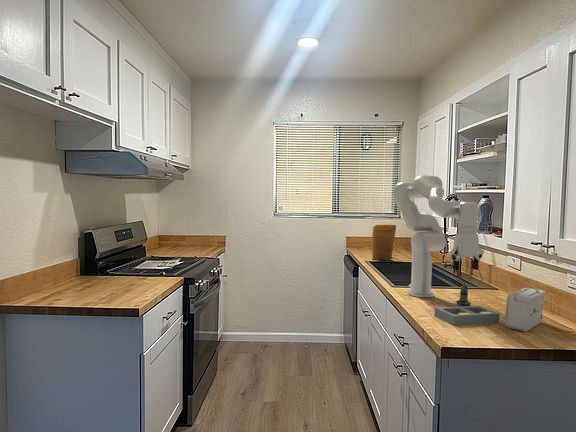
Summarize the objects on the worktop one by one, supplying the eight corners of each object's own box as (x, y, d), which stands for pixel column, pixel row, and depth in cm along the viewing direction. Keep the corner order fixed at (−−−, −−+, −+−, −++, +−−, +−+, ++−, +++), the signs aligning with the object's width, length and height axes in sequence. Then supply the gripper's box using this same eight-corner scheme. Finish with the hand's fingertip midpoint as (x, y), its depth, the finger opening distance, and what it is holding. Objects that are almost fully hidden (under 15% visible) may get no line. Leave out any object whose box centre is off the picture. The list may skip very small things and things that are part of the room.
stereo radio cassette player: (522, 318, 168) (524, 270, 167) (544, 323, 162) (547, 273, 161) (503, 328, 154) (506, 276, 153) (527, 334, 148) (531, 279, 147)
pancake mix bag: (396, 261, 312) (397, 225, 310) (371, 261, 310) (373, 224, 309) (393, 260, 319) (394, 224, 317) (369, 259, 317) (370, 223, 315)
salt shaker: (466, 308, 181) (467, 281, 180) (473, 312, 175) (474, 284, 174) (453, 308, 181) (454, 281, 180) (459, 311, 175) (460, 284, 174)
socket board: (434, 316, 167) (435, 306, 167) (477, 313, 173) (478, 304, 172) (453, 325, 156) (454, 315, 155) (499, 322, 161) (499, 312, 161)
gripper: (478, 229, 182) (476, 267, 183) (444, 229, 177) (442, 268, 178) (490, 231, 175) (488, 270, 175) (455, 231, 170) (454, 271, 171)
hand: (465, 269), depth 177 cm, fingers open, 9 cm apart
